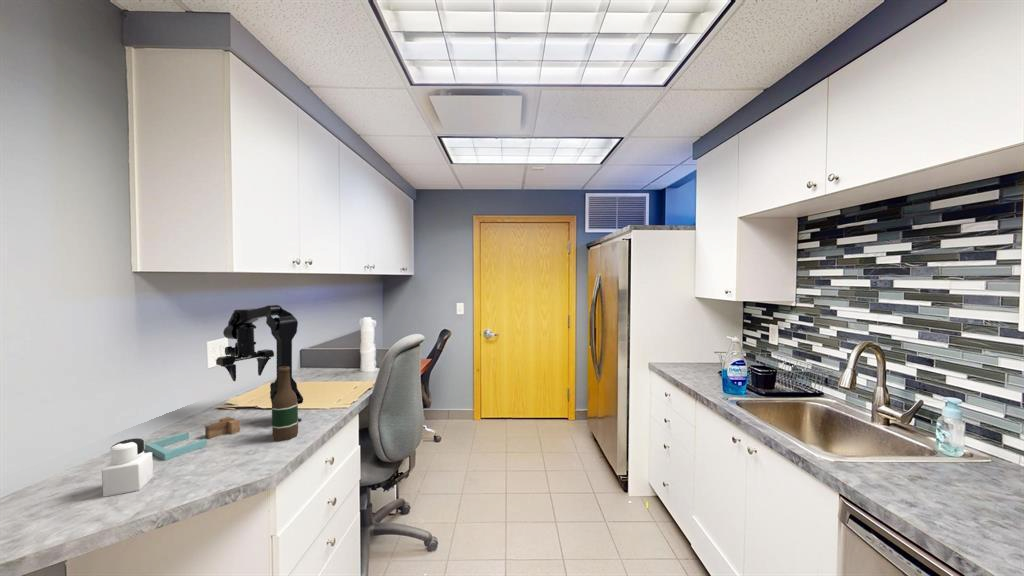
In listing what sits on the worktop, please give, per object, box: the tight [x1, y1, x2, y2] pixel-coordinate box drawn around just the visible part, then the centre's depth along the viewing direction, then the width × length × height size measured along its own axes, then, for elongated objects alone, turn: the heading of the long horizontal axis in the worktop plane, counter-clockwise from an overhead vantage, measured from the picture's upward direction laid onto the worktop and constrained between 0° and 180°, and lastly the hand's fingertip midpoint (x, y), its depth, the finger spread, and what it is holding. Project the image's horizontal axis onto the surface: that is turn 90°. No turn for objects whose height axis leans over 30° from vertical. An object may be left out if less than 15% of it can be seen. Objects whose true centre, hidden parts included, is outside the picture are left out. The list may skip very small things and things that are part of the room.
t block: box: [204, 416, 241, 440], centre depth 129 cm, size 8×8×4 cm
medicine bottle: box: [101, 438, 154, 497], centre depth 97 cm, size 7×7×12 cm
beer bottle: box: [271, 366, 299, 442], centre depth 126 cm, size 8×8×24 cm
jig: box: [144, 431, 208, 461], centre depth 119 cm, size 14×10×2 cm
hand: (247, 378), depth 150 cm, fingers open, 9 cm apart
